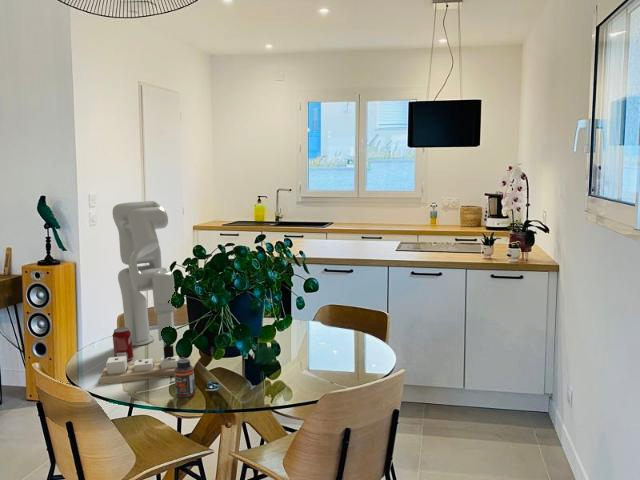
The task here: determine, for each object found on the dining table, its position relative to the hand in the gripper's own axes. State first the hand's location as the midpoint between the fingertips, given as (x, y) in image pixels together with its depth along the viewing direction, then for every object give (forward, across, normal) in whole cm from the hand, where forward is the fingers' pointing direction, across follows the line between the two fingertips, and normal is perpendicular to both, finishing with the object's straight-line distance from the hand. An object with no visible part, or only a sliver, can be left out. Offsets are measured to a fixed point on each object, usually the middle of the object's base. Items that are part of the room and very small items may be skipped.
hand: (169, 356), depth 218 cm
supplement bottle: (+5, +26, +6) cm, 28 cm away
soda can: (+6, -18, -18) cm, 26 cm away
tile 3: (+5, 0, 0) cm, 5 cm away
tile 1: (+3, 0, -18) cm, 18 cm away
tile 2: (+5, 0, -9) cm, 10 cm away
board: (+5, 0, -9) cm, 10 cm away
